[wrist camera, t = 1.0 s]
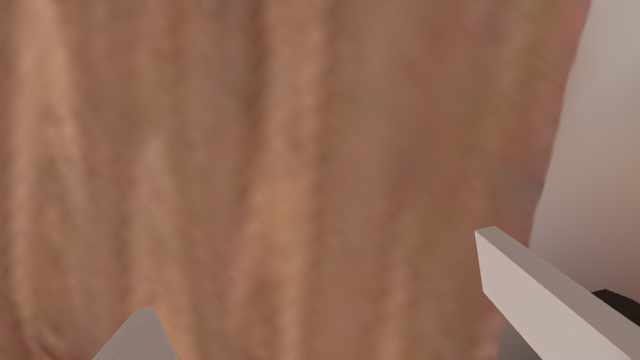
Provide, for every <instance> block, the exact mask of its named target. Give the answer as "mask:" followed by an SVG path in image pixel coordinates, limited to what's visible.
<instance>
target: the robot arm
mask: <svg viewBox="0 0 640 360" xmlns="http://www.w3.org/2000/svg"><path fill="white" fill-rule="evenodd" d="M475 236H476V243H477V251H478V258H479V265H480V272H481V280H482V287H483V292H484V293H485V294H486V295H487V296H488V298H489V299H490V300H491V301H492V302H493V303H494V304H495V306H496V307H497V308H498V309H499V310H500V311H501V312H502V314H503V315H504V316H505V317H506V318H507V319H508V321H509V322H510V323H511V324H512V325H513V326H514V327H515V329H516V330H517V331H518V332H519V333H520V334H521V335H522V337H523V338H524V339H525V340H526V341H527V342H528V343H529V345H530V346H531V347H532V348H533V349H534V350H535V351H536V353H537V354H538V355H539V356H540V357H541V358H542V360H640V304H639V303H637V302H635V301H634V300H632V299H630V298H627V297H625V296H622V295H620V294H617V293H614V292H612V291H609V290H606V289H604V290H600V291H595V292H589V291H587V290H586V289H584V288H583V287H582V286H580V285H579V284H577V283H576V282H574V281H573V280H572V279H570V278H569V277H567V276H566V275H564V274H563V273H562V272H560V271H559V270H557V269H556V268H555V267H553V266H552V265H550V264H549V263H547V262H546V261H544V260H543V259H542V258H540V257H539V256H537V255H536V254H534V253H533V252H531V251H530V250H529V249H527V248H526V247H525V246H523V245H522V244H520V243H519V242H517V241H516V240H515V239H513V238H512V237H510V236H509V235H507V234H506V233H505V232H503V231H502V230H500V229H499V228H497V227H496V226H491V227H487V228H483V229H478V230H475ZM92 360H178V358H177V356H176V354H175V352H174V350H173V348H172V346H171V343H170V341H169V339H168V337H167V335H166V333H165V331H164V328H163V326H162V324H161V322H160V320H159V318H158V316H157V313H156V311H155V309H154V307H153V306H151V307H147V308H142V309H138V310H135V311H134V312H133V314H132V315H131V316H130V317H129V318H128V319H127V320H126V322H125V323H124V324H123V325H122V326H121V327H120V328H119V330H118V331H117V332H116V333H115V334H114V335H113V336H112V338H111V339H110V340H109V341H108V342H107V343H106V344H105V345H104V347H103V348H102V349H101V350H100V351H99V352H98V353H97V355H96V356H95V357H94V358H93V359H92Z"/></svg>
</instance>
